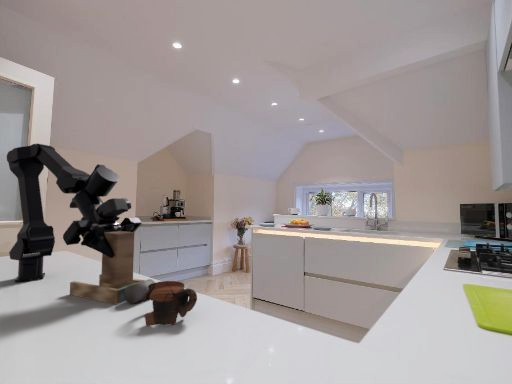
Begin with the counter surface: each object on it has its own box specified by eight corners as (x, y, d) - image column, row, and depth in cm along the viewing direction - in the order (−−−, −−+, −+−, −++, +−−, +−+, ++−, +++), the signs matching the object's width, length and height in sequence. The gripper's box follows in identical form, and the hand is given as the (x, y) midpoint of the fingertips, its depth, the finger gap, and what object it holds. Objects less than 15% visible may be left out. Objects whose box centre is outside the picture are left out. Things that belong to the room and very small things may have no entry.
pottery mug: (128, 329, 51) (134, 284, 55) (158, 332, 59) (161, 292, 63) (186, 319, 49) (187, 272, 53) (210, 323, 56) (209, 282, 61)
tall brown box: (101, 282, 67) (103, 232, 67) (118, 277, 71) (120, 231, 72) (116, 285, 65) (118, 234, 65) (132, 279, 69) (134, 232, 70)
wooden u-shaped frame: (69, 294, 68) (70, 278, 68) (102, 284, 76) (102, 270, 76) (131, 307, 60) (132, 288, 60) (160, 294, 68) (161, 278, 69)
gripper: (73, 185, 62) (106, 237, 57) (137, 189, 79) (167, 229, 75) (49, 218, 65) (79, 271, 60) (116, 215, 82) (143, 256, 77)
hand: (122, 254), depth 68 cm, fingers closed on tall brown box, 5 cm apart
